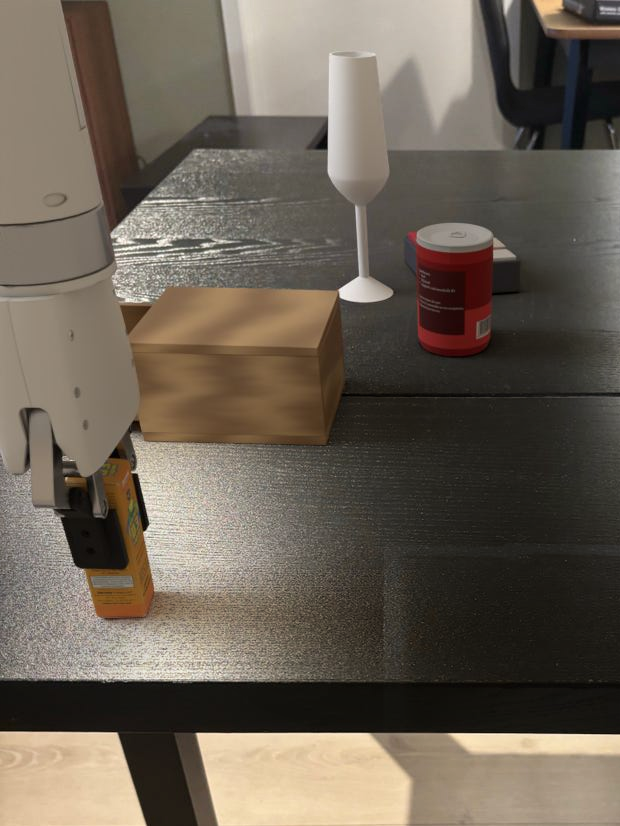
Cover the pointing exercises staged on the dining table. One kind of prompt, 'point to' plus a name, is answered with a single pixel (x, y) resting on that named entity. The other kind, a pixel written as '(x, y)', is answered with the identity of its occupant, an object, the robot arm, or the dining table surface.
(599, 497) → the dining table surface
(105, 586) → the supplement box
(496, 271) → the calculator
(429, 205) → the dining table surface
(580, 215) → the dining table surface
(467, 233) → the canned food
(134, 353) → the cabinet
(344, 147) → the champagne flute
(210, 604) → the dining table surface
